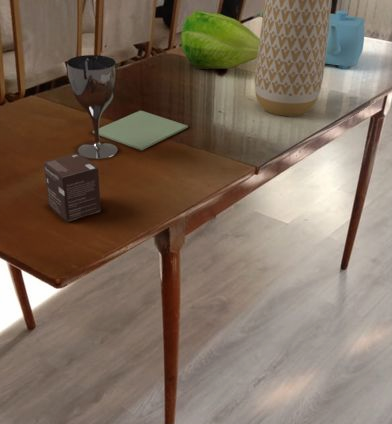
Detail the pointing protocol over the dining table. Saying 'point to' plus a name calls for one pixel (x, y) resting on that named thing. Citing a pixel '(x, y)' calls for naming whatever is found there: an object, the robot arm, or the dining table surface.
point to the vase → (291, 55)
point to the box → (72, 186)
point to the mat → (141, 130)
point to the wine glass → (93, 96)
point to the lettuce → (217, 41)
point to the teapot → (344, 39)
